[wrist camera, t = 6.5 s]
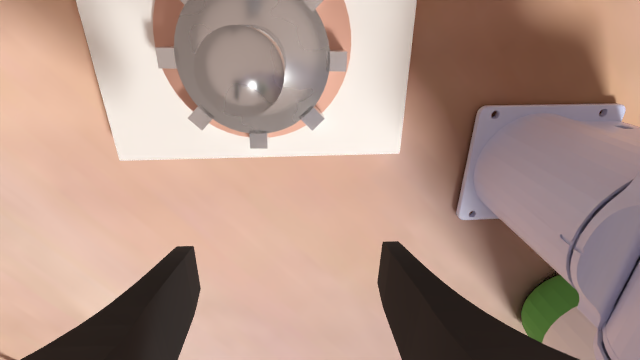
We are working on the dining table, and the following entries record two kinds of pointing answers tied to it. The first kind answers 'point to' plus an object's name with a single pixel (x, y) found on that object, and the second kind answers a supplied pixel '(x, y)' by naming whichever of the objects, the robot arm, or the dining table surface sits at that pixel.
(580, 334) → the wine bottle
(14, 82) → the dining table surface
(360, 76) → the gear board
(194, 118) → the aluminium gear
